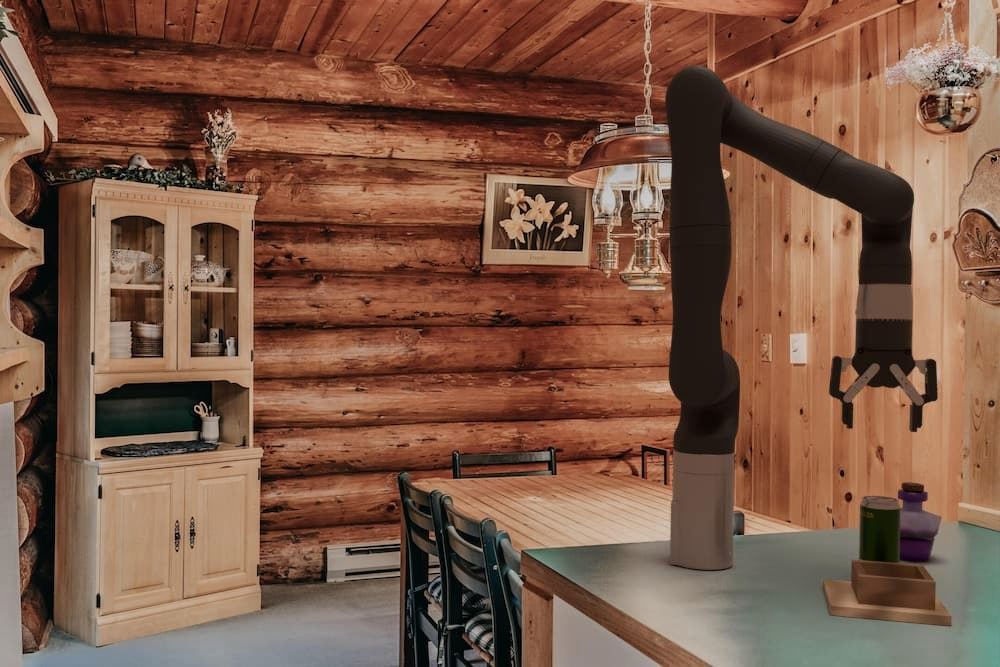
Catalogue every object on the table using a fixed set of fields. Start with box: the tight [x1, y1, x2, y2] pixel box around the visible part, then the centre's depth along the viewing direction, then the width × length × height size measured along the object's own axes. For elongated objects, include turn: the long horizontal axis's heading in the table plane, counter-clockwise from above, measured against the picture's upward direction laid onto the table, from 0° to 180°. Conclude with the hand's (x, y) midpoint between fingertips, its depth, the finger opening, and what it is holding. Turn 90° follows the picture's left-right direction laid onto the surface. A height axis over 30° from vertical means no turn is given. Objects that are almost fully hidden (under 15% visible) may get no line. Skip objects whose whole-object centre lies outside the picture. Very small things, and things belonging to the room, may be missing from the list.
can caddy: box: [822, 559, 953, 627], centre depth 122 cm, size 14×13×5 cm
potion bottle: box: [897, 481, 942, 563], centre depth 148 cm, size 9×9×12 cm
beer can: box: [858, 495, 902, 563], centre depth 133 cm, size 5×5×12 cm
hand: (881, 429), depth 133 cm, fingers open, 8 cm apart
